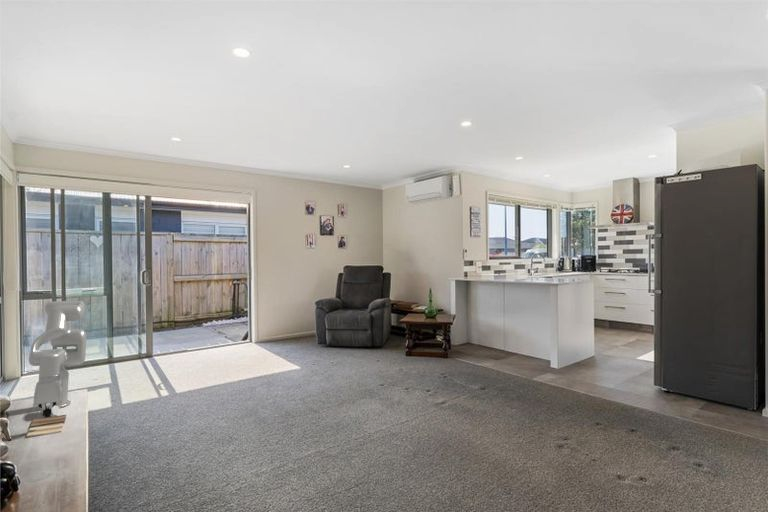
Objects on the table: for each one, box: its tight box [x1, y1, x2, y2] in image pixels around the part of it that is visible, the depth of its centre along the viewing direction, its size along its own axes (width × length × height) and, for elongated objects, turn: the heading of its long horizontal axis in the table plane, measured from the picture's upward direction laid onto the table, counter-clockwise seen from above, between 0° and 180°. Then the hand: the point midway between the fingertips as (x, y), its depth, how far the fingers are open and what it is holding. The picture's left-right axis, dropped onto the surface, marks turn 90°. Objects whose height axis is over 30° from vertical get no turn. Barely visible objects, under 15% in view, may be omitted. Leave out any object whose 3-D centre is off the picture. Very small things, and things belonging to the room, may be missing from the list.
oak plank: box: [25, 423, 64, 439], centre depth 185 cm, size 11×12×2 cm
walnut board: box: [29, 414, 67, 429], centre depth 195 cm, size 12×13×2 cm
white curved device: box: [39, 403, 60, 418], centre depth 207 cm, size 17×5×10 cm, turn 38°
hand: (46, 416), depth 187 cm, fingers closed
